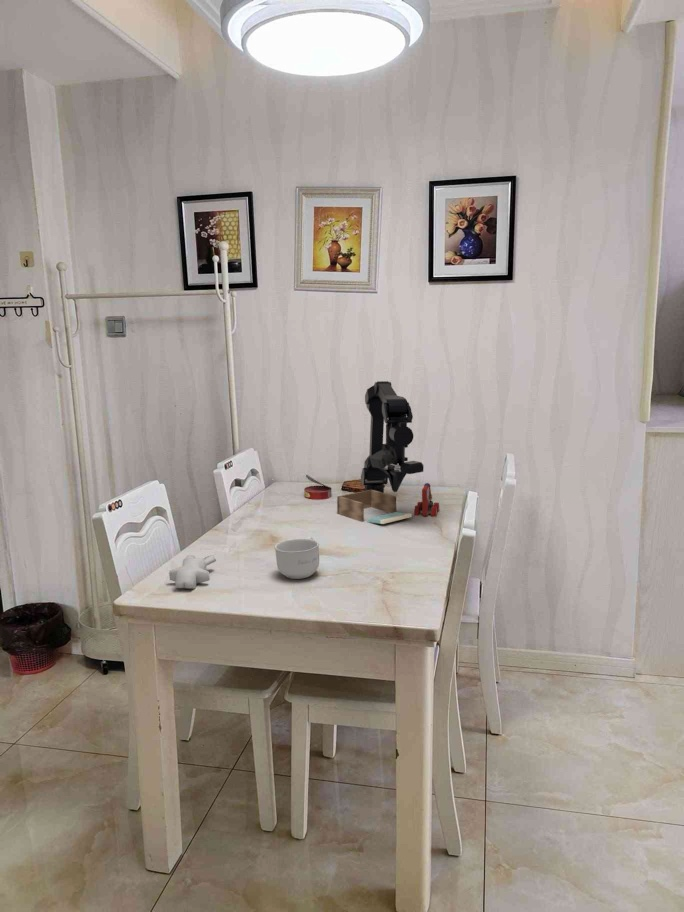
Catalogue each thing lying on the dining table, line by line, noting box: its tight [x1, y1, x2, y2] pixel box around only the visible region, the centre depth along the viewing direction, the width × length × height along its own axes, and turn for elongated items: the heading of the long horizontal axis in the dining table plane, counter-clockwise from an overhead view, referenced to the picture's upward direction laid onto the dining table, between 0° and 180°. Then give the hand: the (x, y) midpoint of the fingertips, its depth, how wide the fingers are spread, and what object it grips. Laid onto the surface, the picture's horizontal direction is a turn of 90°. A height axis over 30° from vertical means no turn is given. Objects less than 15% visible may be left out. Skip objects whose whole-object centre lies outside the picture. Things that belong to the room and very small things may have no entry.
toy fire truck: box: [413, 482, 440, 518], centre depth 217 cm, size 7×12×10 cm, turn 165°
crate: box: [336, 490, 397, 523], centre depth 216 cm, size 12×14×7 cm
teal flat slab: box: [367, 511, 412, 525], centre depth 208 cm, size 1×12×7 cm
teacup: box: [274, 536, 320, 580], centre depth 167 cm, size 14×11×8 cm
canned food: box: [303, 474, 333, 501], centre depth 244 cm, size 11×10×10 cm
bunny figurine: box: [168, 554, 217, 590], centre depth 163 cm, size 10×5×15 cm
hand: (394, 491), depth 204 cm, fingers closed
